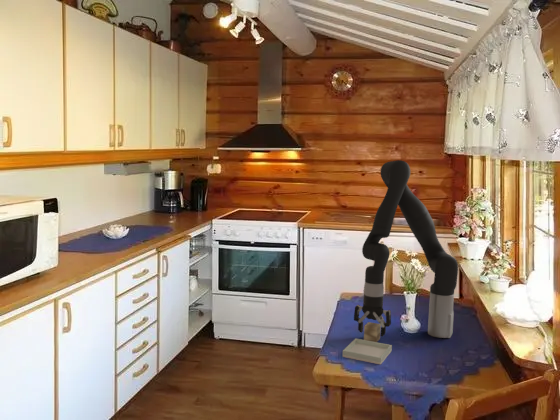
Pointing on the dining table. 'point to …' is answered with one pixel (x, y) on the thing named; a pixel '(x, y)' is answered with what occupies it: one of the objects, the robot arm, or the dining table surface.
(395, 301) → the dining table surface
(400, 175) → the robot arm
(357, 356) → the dish
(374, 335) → the birch block
